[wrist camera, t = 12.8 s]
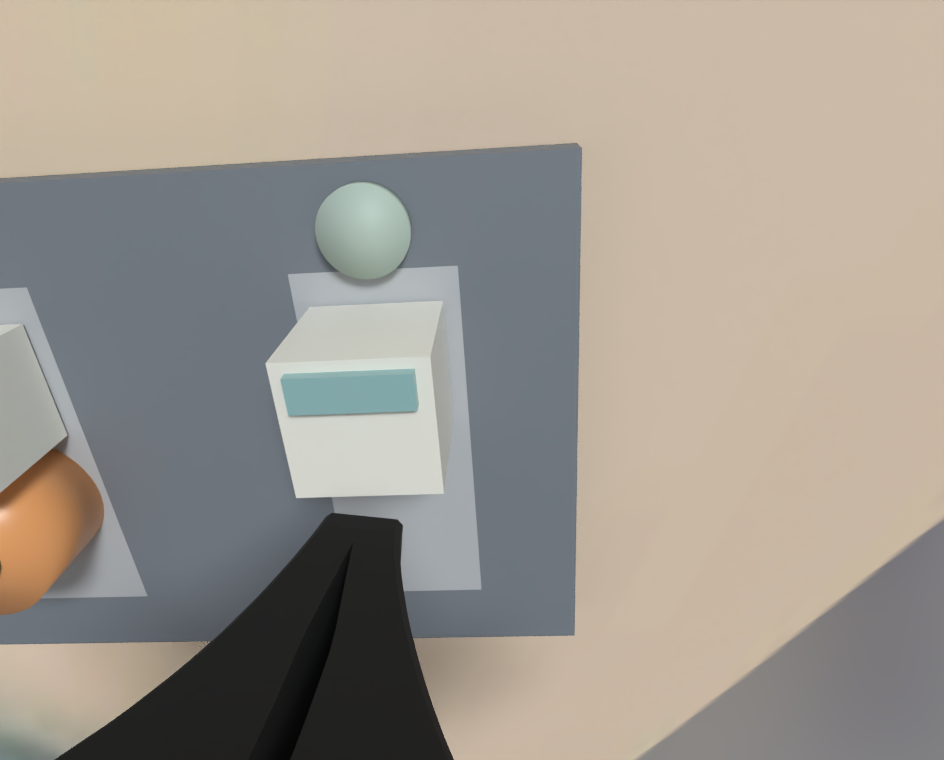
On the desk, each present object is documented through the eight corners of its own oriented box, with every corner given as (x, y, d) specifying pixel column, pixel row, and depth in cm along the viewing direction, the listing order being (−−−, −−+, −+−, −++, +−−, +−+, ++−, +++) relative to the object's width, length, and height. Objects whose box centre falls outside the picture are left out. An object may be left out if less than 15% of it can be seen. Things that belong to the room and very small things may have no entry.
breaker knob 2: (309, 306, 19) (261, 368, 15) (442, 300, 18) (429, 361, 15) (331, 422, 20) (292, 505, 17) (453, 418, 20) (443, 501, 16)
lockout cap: (-55, 437, 21) (-147, 498, 18) (83, 439, 21) (14, 502, 18) (-7, 546, 23) (-82, 617, 20) (119, 549, 23) (62, 621, 20)
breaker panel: (-221, 192, 19) (-288, 203, 17) (576, 143, 18) (584, 150, 16) (9, 621, 27) (-22, 657, 25) (571, 611, 26) (576, 648, 24)
